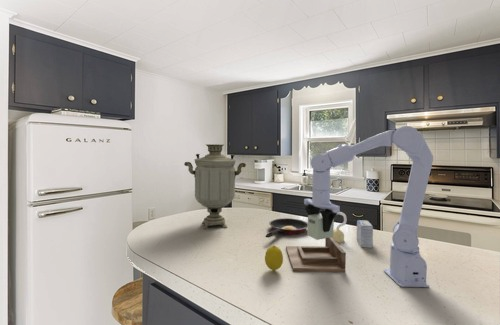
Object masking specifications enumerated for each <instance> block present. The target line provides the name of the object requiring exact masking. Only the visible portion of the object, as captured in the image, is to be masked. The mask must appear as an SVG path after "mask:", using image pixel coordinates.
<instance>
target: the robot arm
mask: <svg viewBox="0 0 500 325" xmlns="http://www.w3.org/2000/svg"><path fill="white" fill-rule="evenodd" d="M393 144H394V146H396V148H398V149H400V150H401V151H403V152H405V153H406V155H407V156H408V157H409V159H410V160H411V161H412V163H411V167H410V173H409V177H408V180H407V181H408V182H407V186H406V190H405V194H404V197H403V198H404V199H403V202H402V208H401V212H400V215H399V219H398V221H397V223H396V224H394V226H393V228H392V232H393V234H392V242H391V243H390V250H389V251H390V252H389V269H387V268H386V269H385V268H384V269H383V272H384V273H385V274H387V276H388V277H389V278H390V279H391V280H393V281H394V282H395V283H396V284H397V285H398V286H399V287H402V288H403V287H404V288H405V287H406V288H407V287H410V288H430V285H429V283H427V267H428V265H427V261H426V260H425V259H424V258H423V257H422V255H421V254H420V253H421V252H420V247H419V244H420V243H419V242H420V240H419V236H418V229H419V220H420V216H421V211H422V207H423V204H424V199H425V196H426V191H427V188H428V183H429V180H430V175H431V171H432V166H433V162H434V155H433V153H432V152H431V149H430V148H429V145H428V144H427V141H426V139H425V137H424V135H423V134H422V133H421V132H419V131H418V130H417V128H415V127H413V126H409V125H403V126H400V127H399V128H397V129H390V130H386V131H384V132H381V133H378V134H376V135H373V136H371V137H368V138H366V139H364V140H361V141H360V142H358V143H355V144H353V145H349V144H346V143H344V144H342V143H340V144H338V145H336V146H337V147H335V148H332V149H330V150H324V151H323V153H317V154H316V155H314V156H313V157H312V159H311V160H310V166H311V168H312V192H311V193H312V194H311V195H312V196H311V198H312V199H311V198H304V199H303V204H304V205H306V206H305V207H304V209H305V210H306V213H307V216H308V215H313V214H321V215H322V219H323V231H324V232H328V231H330V227H331V224H332V221H333V219H334V220H335V218H336V216H337V215H338V214H337V213H338V212H341V211H340V209H341V207H340V205H337V204H334V203H333V202H332V201H330V198H331V194H330V193H331V168H337V167H338V166H341V165H344V164H346V163H349V162H352V161H353V160H354V158H355V156H356V155H359V154H362V153H365V152H367V151H370V150H373V149H376V148H379V147H393ZM321 209H323V210H321ZM336 214H337V215H336Z"/></svg>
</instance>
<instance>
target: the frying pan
mask: <svg viewBox="0 0 500 325" xmlns="http://www.w3.org/2000/svg"><path fill="white" fill-rule="evenodd" d="M268 225H269V226H270V227H271V228H272V229H273V230H272V231H269V232H268V233H267V234H266V235H265V238H271V237H273V236H275V235H276V234H277V233H279V234H283V235H298V234H299V235H300V234H302V233H303V232H305V231H306V230H308V221H306V220H304V219H300V218H299V219H298V218H292V217H291V218H290V217H283V218H274V219H271V220H269V222H268Z"/></svg>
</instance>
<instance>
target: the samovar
mask: <svg viewBox="0 0 500 325" xmlns="http://www.w3.org/2000/svg"><path fill="white" fill-rule="evenodd" d="M205 146H206V147H207V151H208V152H209V153H208V154H206V155H204V156H203V157H200V153H196V154H195V157H196V158H195V159H194V164H195V165H196V166H195V169H194V166H193V164H192V162H190V161H185V162H184V166H186V167H188V168H187V169H188V172H189V173H190V174H191V175H194V176H193V177H194V197H195V200H196V201H197V203H199V204H200V205H201V206H202V207H206V209H207V210H206V212H207V213H209V214H207V215H206V217H204V218H203V221H202V224H204V226H203V227H202V228H203V229H202V230H208V228H209V226H218V225H220V226H223V227H224V228H225V229H227V228H228V225H227V224H226V218H225V217H224V216H223V215H221V214H220V213H221V212H222V211H223V210H222V209H223V208H224V207H226V206H228V205H229V204H230V203H232V202H233V200H234V199H235V190H236V189H235V188H236V186H235V185H236V177H237V176H239V175H240V174H241V173H242V168H245V167H246V166H247V164H246V163H245V162H240V163H239V164H238V165H237V170H236V169H235V164H236V159H234V157H235V154H233V153H232V154H230V158H229V157H226V155H224V154H222V151H223V147H224V144H217V143H216V144H211V143H210V144H205Z"/></svg>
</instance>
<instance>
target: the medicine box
mask: <svg viewBox="0 0 500 325" xmlns="http://www.w3.org/2000/svg"><path fill="white" fill-rule="evenodd" d="M356 241H357V242H358V244H359V246H360V247H361V248H369V249H372V248H373V246H374V243H373V242H374V226H373V225H372V223H370V222H369V220H365V219H364V220H363V219H362V220H360V219H358V220H356Z"/></svg>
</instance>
